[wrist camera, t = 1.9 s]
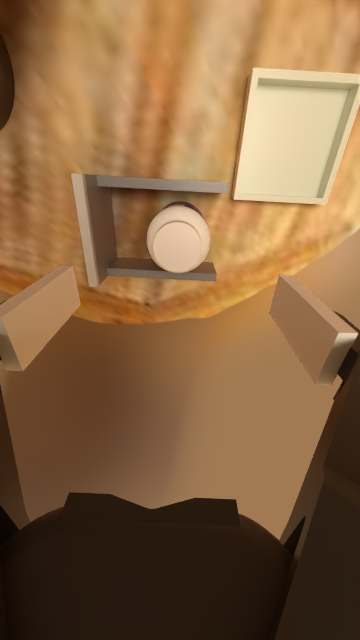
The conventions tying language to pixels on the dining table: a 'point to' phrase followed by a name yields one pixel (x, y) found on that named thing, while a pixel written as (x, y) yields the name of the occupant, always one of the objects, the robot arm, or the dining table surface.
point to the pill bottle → (178, 238)
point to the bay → (101, 234)
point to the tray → (293, 134)
